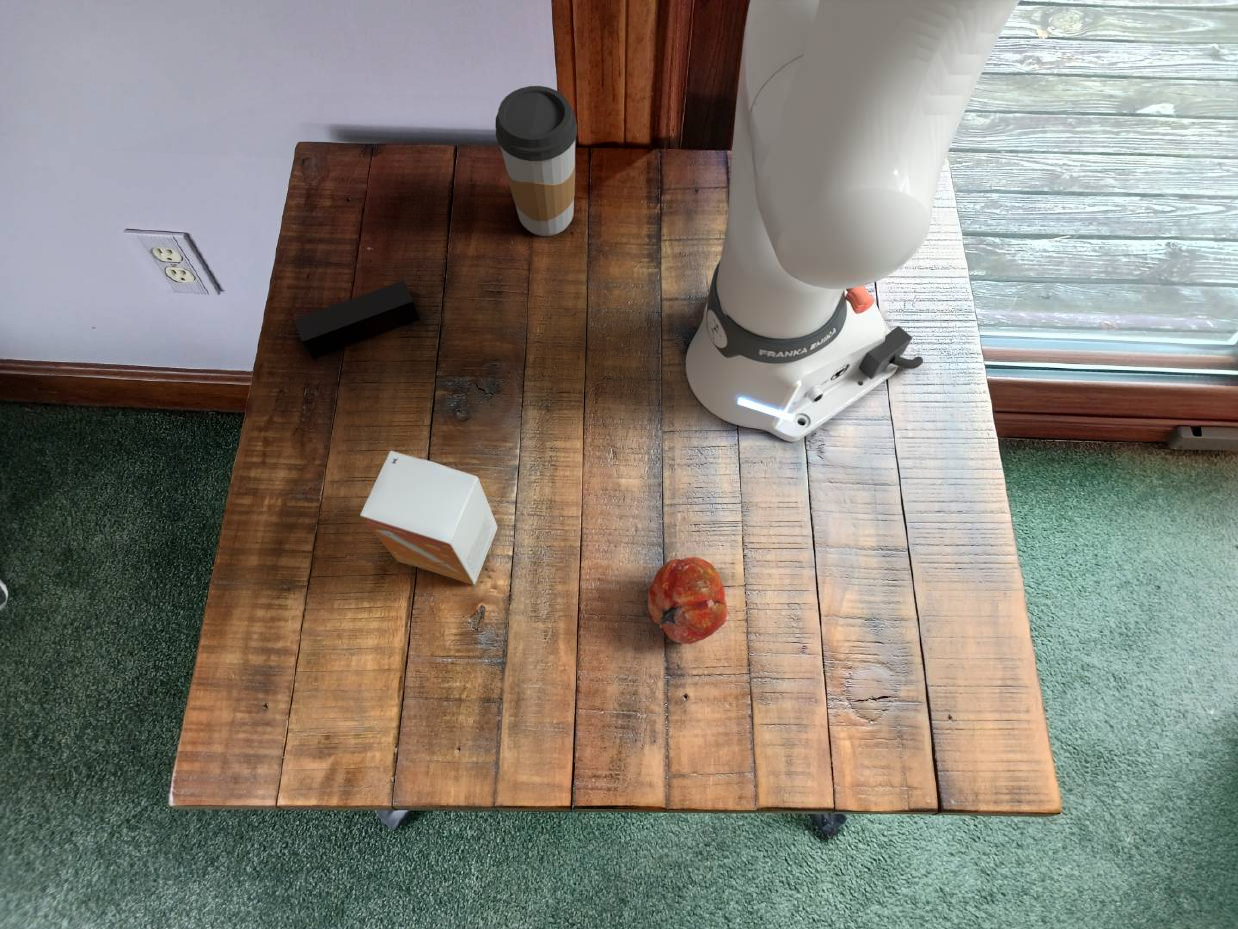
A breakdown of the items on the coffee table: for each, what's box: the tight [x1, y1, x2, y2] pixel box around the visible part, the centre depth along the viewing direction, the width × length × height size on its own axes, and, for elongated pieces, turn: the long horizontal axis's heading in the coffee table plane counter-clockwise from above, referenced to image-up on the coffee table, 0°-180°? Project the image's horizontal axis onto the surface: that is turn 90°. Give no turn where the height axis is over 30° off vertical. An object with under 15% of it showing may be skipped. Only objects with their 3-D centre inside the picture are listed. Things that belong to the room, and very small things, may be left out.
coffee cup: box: [494, 85, 578, 237], centre depth 87 cm, size 8×8×15 cm
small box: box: [359, 450, 498, 586], centre depth 71 cm, size 8×6×13 cm
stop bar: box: [293, 279, 421, 360], centre depth 86 cm, size 12×3×4 cm, turn 115°
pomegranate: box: [647, 556, 728, 645], centre depth 72 cm, size 7×7×10 cm
